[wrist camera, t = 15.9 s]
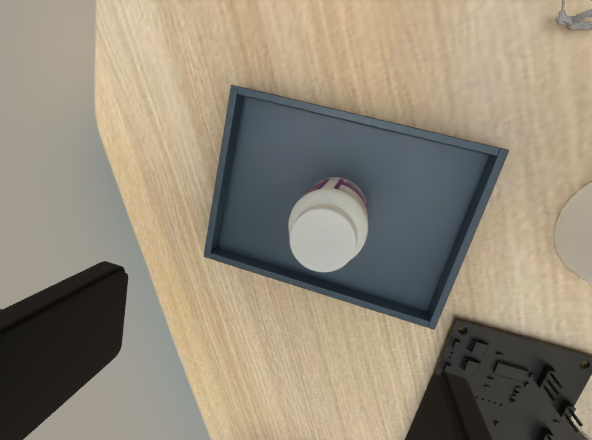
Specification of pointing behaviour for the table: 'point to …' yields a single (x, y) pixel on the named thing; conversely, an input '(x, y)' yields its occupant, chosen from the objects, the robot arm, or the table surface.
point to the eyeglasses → (574, 19)
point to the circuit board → (518, 381)
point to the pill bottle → (328, 224)
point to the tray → (375, 186)
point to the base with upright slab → (576, 234)
